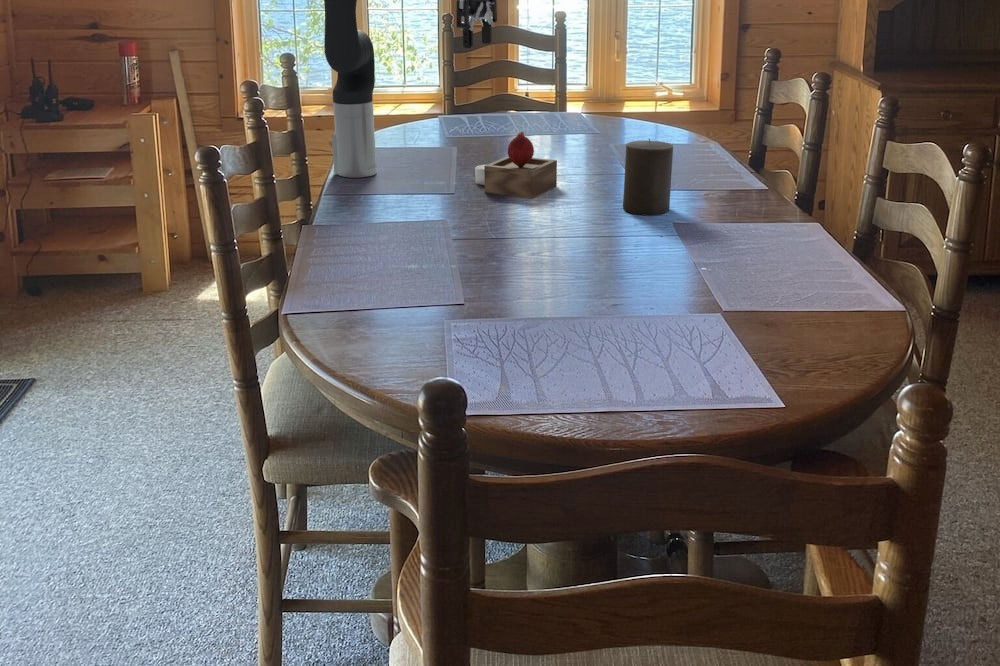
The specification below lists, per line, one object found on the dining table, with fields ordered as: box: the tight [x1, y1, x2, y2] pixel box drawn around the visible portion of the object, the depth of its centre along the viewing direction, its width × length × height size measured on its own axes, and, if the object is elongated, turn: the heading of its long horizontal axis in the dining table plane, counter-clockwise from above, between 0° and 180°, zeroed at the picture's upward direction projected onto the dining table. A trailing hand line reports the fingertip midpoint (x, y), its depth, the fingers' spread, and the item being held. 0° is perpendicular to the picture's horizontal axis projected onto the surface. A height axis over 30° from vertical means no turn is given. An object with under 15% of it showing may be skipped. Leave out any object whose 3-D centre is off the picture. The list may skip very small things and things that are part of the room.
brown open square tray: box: [484, 155, 558, 199], centre depth 237 cm, size 12×12×6 cm
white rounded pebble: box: [474, 164, 486, 186], centre depth 245 cm, size 6×6×4 cm
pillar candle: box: [622, 138, 674, 216], centre depth 219 cm, size 10×10×15 cm
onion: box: [507, 130, 535, 167], centre depth 235 cm, size 6×6×8 cm
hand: (477, 45), depth 238 cm, fingers open, 8 cm apart
